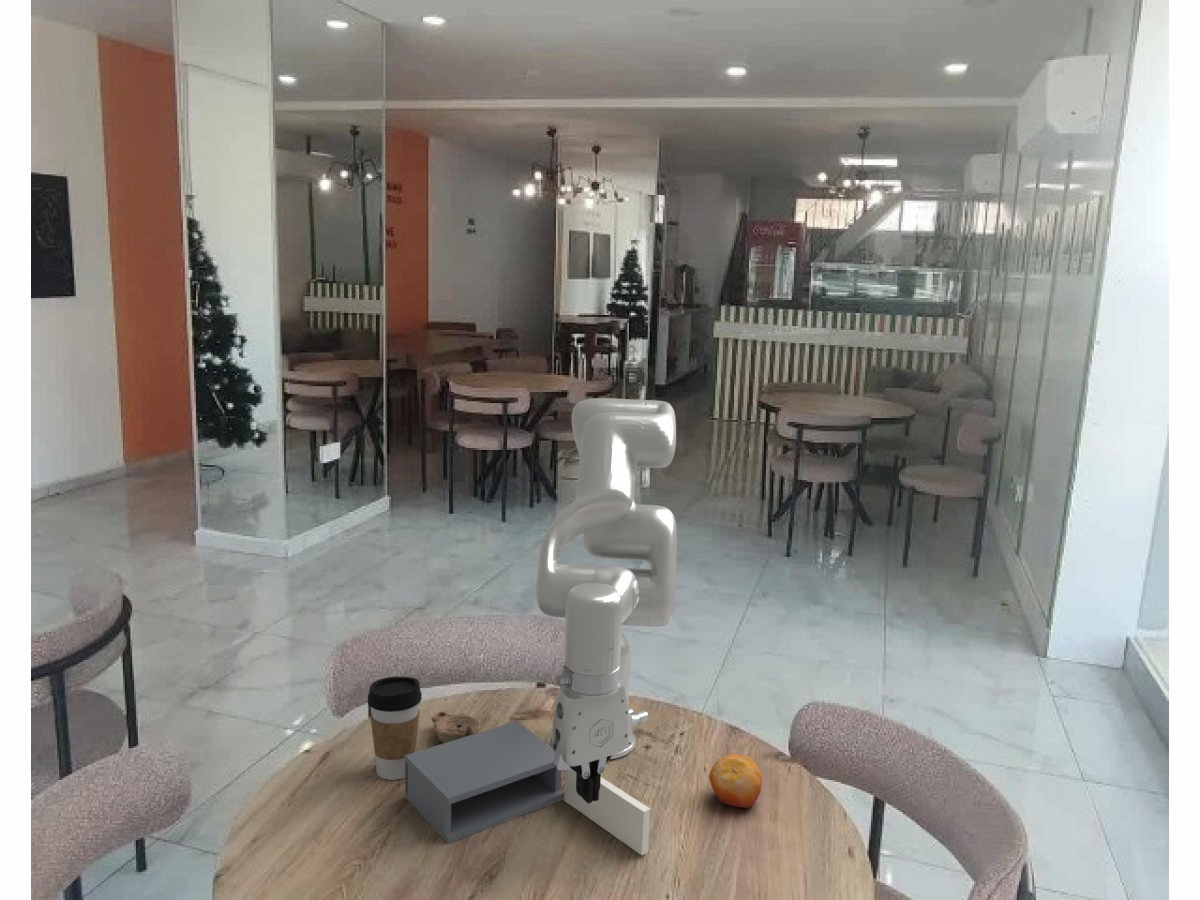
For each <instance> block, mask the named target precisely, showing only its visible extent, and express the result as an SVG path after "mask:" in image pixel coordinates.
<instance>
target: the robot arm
mask: <svg viewBox="0 0 1200 900" xmlns="http://www.w3.org/2000/svg"><path fill="white" fill-rule="evenodd" d="M571 429H572V433H573V434H572V435H573V438H574V442H575V445H576V449H577V452H578V455H579V460H578V461H579V462H578V463H579V464H578V474H577V482H576V485H577V486H576V494H575V499H574V501H573V502H571V503H570V504H569V505H568V506H567V507H565V508H564V509H563V510H562V511H561V512H560V513H559V514H558V516H556V518H555V519H554V520H553V522H552V523H551V524H550V526H549V527H548V528H547V530H546V533H545V535H544V536H543V538H542V541H541V542H542V543H541V545H540V550H539V557H538V558H539V559H538V565H537V574H536V584H535V599H536V605H537V607H538V609H539V610H540V611H541V613H542V614H544V615H546V616H549V617H552V618H560V619H561V618H562V619H564V648H563V652H564V653H563V665H562V673H561V674H560V675H556V676H555V682H556V685H557V687H559V688H558V692H557V696H556V700H555V704H554V711H553V719H552V732H551V747H552V748H553V751H554V752H555V756H554V760H553V765H554V766H555V767H556V768H557V769H558V770H561V771H565V770H569V769H572V770H574V771H575V772H576V791H577V794H578V795H579V796H581V797H582V798H583V799H584V800H585V801H586V802H587V803H588V804H589V803H592V801H598V800H599V790H600V781H601V777H602V774H603V773H604V772H605V771H606V766H607V763H608V762H609V761H610V760H614V759H615V760H617V759H619V758H622V757H624V756H626V755H628V754H630V753H631V752H632V751H633V749H634V748H635V746H636V735H635V733H634V731H633V729H634V728H635V727H636V725H640V724H643V723H646V722H649V714H648V712H647V711H646V710H642V711H639V712H636V713H635V712H634V710H633V709H632V708H629V689H630V667H631V665H630V663H631V647H630V643H629V641H628V639H627V637H626V635H625V633H623V631H622V626H635V627H636V626H638V627H656V628H657V627H658V628H659V627H663V626H667V625H668V624H670V622H671V621H672V618H673V616H674V613H675V605H676V587H677V586H676V585H677V582H676V581H677V551H678V549H677V546H678V545H677V544H678V537H677V535H678V534H677V533H678V532H677V529H678V528H677V522H676V518H675V515H674V514H673V512H672V511H671V509H669V508H668V507H666V506H662V505H657V504H656V505H655V504H642V503H641V504H637V503H636V502H635V487H636V486H635V485H636V476H635V475H636V474H635V468H649V469H651V468H652V469H654V468H655V469H664V468H667V467H668V466H670V465H671V463H672V461H673V460H674V456H675V452H676V446H677V422H676V413H675V410H674V408H673V406H672V405H671V403H669V402H667V401H664V400H655V399H654V400H652V399H651V400H649V399H648V400H647V399H632V398H630V399H628V398H627V399H626V398H613V397H611V398H609V397H600V398H599V397H598V398H589V399H584V400H581V401H578V402H577V403H576V404H575V405H574V407H573V408H572V411H571ZM580 535H582V538H583V546H584V549H585V552H586V553H588V555H590V556H591V557H595V558H600V559H608V560H625V561H627V560H628V561H643V562H645V563H647V564H648V565H649V567H650V568H649V569H648V568H629V567H622V566H613V565H612V566H611V565H596V564H585V563H583V564H581V563H562V562H561V563H559V560H560V557H561V553H562V551H563V549H564V548H565V547H566V546H567V544H569V543H570V542H571V541H572V540H573V539H575V538H577V537H578V536H580ZM634 713H635V714H634Z"/></svg>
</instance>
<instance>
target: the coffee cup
mask: <svg viewBox="0 0 1200 900" xmlns="http://www.w3.org/2000/svg"><path fill="white" fill-rule="evenodd" d="M422 695H423V694H422V691H421V686H420V680H419V679H418V678H415V677H411V676H388V677H384V678H380V679H377V680H376V681H374V682H372V683H371V684H370V686H369V690H368V695H367V704H368V706H369V707H370V714H369V715H370V725H371V733H372V743H373V749H374V757H375V767H376V769H375V770H376V774H377V776H378V777H379V778H380V779H383V780H386V779H387V780H388V781H398V780H397V779H399V780H402V779H405V755H408V754H411V753H415V752H416V750H417V741H418V740H417V739H418V732H419V731H418V730H419V721H420V720H419V719H420V708H419V705H420V703H421V701H422Z"/></svg>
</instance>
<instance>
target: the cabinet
mask: <svg viewBox="0 0 1200 900" xmlns="http://www.w3.org/2000/svg"><path fill="white" fill-rule="evenodd" d="M554 756H555V752H554V751H553V748H552V745H549V743H547V742H545V741H544V740H543V739H542V738H540V737H539V736H538V735H536V734H535V733H533V731H531V730H530V729H529V728H527V727H526V726H525V725H523V723H521V722H519V721H518V720H516V721H513V722H509V723H506V724H502V725H500V726H497V727H496V726H495V727H493V728H490V729H486V730H483V731H479V733H476V734H473V735H470V736H467V737H463V738H460V739H457V740H454V741H450V742H447V743H441V744H437V745H434V746H431V747H428V748H425V749H422V750H419V751H418V750H417V751H415V753H411V754H408V755H405V778H404V780H405V781H404V783H405V784H404V790H405V791H404V793H405V794H404V795H405V799H406V800H407V801H408V803H410V804H411V805H412V806H413V808H414V809H417V810H418V811H419V812H418V811H417V810H416V811H417V812H418V813H419V814H420V813H421V814H420V815H421V816H422V817H423V818H424V820H425V821H426V822H427V823H428V822H429V823H428V824H429V825H430V826H431V827H432V828H433V829H434V830H435V832H437V833H438V835H439V836H440V837H441V838H442V839H443V840H444V841H445V842H446V843H447V844H451V843H454V842H456V841H459V840H461V839H464V838H467V837H469V836H473V835H475V834H477V833H480V832H482V831H485V830H487V829H490V828H493V827H496V826H498V825H500V824H503V823H506V822H508V821H511V820H513V819H516V818H518V817H522V816H525V815H526V814H529V813H531V812H534V811H537V810H540V809H543V808H545V807H547V806H551V805H553V804H555V803H558V802H561V801H563V800H564V795H565V792H563V790H561V788H562V770H558V769H557V768H556V767H555V766H554V765H553V760H554Z"/></svg>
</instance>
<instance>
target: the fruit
mask: <svg viewBox="0 0 1200 900" xmlns="http://www.w3.org/2000/svg"><path fill="white" fill-rule="evenodd" d="M708 775H709V776H708V778H709V782H710V785H711V788H712V790H713V792H714V794H715V795H716V797H717V799H718V801H719V802H721V803H722V804H725V805H727V806H731V807H734V808H735V807H736V808H744V809H745V808H750V807H752V806H753V805H755V803H756V802H757V800H758V798H759V797H760V794H761V791H762V782H763V778H762V777H763V776H762V773H761V770H760V768H759V767H758V765H757V763H756V762H755V761H754V759H753V758H751V756H747V755H744V754H738V753H732V754H727V755H724V756H723V757H721V758H719V759H717V761H716V762H715V763H714V764H713V766H712V767H711V769H710V772H709V774H708Z"/></svg>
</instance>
